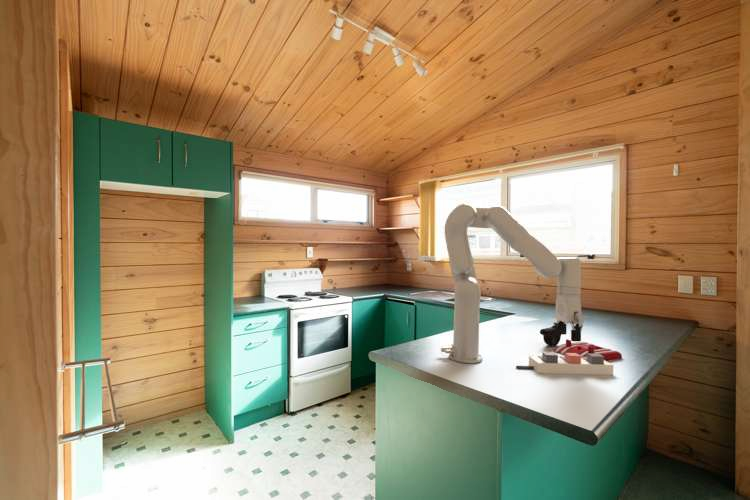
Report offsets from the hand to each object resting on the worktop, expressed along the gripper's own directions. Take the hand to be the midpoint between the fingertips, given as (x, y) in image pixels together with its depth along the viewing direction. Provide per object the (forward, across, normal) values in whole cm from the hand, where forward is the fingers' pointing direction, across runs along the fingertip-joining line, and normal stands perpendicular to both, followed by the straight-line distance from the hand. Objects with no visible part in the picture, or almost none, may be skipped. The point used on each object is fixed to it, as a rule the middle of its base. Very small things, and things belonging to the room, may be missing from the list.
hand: (568, 337), depth 131 cm
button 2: (+8, +4, -1) cm, 9 cm away
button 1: (+8, +4, -9) cm, 13 cm away
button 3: (+8, +4, +7) cm, 12 cm away
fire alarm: (+12, -16, +16) cm, 26 cm away
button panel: (+11, +2, -4) cm, 12 cm away
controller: (+11, -28, +7) cm, 31 cm away
